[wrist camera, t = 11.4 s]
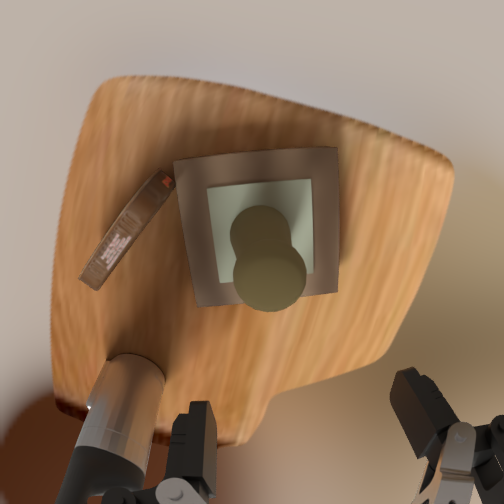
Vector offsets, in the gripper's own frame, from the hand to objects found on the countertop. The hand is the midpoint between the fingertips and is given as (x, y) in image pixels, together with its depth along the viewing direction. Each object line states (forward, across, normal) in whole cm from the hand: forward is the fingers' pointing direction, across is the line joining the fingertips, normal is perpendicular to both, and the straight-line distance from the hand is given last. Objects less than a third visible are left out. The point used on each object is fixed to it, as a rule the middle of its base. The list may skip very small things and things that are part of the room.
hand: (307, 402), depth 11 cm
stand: (+24, 0, -1) cm, 24 cm away
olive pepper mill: (+20, 0, -1) cm, 20 cm away
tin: (+24, +14, -3) cm, 28 cm away
